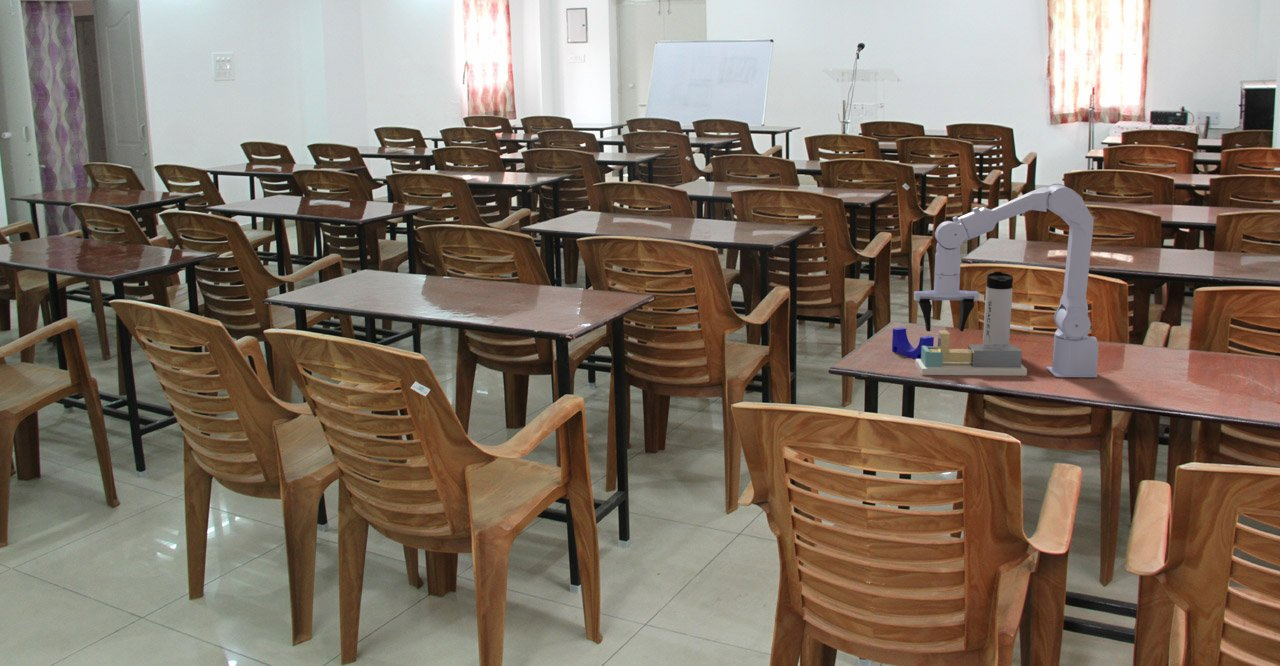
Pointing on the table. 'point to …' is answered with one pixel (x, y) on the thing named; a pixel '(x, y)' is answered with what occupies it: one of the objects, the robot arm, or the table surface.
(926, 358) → the socket
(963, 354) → the slide bar
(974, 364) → the sleeve
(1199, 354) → the table surface
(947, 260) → the robot arm
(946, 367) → the base board
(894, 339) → the blue curved bracket
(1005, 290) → the travel mug
